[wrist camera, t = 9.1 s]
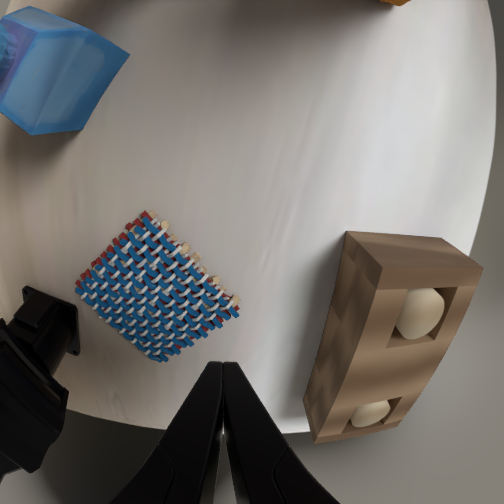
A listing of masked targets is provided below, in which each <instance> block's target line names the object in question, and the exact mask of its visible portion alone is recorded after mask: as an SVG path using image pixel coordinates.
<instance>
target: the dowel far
mask: <svg viewBox="0 0 504 504" xmlns="http://www.w3.org/2000/svg"><path fill="white" fill-rule="evenodd" d="M389 410H390V405H389V403H388V401H387V400H385V401H380V402H375V403H370V404H365V405H359V406H357V407H356V409H355V410H354V412H353V414H352V416H351V417H350V419H351V422H352V425H353V426H355V427H365V426H369V425H371V424H374V423H376V422H378V421H379V420H381V419H382V418H383V417H385V416H386V415H387V414H388V412H389Z"/></svg>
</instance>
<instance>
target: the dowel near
mask: <svg viewBox="0 0 504 504" xmlns="http://www.w3.org/2000/svg"><path fill="white" fill-rule="evenodd" d="M443 311H444V300H443V298H442V297H441V296H440V295H439V294H438V293H437V292H436V291H435V290H434V289H433V288H420V289H408V292H407V295H406V298H405V301H404V303H403V306H402V309H401V311H400V314H399V317H398V319H397V322H396V324H395V326H396V327H397V329H398V330H399V331H400V333H401V334H402V336H403V337H404V338H406V339H417V338H420V337H422V336H424V335H426V334H427V333H428V332H430V331H431V330H432V329H433V328H434V327H435V326H436V324H437V323H438V322H439V320H440V318H441V316H442V314H443Z"/></svg>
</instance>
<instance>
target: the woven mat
mask: <svg viewBox="0 0 504 504" xmlns="http://www.w3.org/2000/svg"><path fill="white" fill-rule="evenodd" d="M141 215H142V216H143V218H142V219H141V220H139V219H138V218H137V219H136V220H135V221H134V223H135V225H133V224H131V223H128V224H127V225H126V228H127V229H129V231H128V233H127V234H125V233H124V232H122V233H121V234H120V235H119V236H120V238H121V240H120V241H119V240H118V239H117V238H116V237H115V238H114V239H113V241H114V243H115V246H114V247H112V246H111V245H109V246H108V247H107V250H108V251H109V252H108V253H106V252H105V251H104V252H103V253H102V254H101V256H102V257H103V258H102V259H100V258H99V257H98V258H97V259H96V260H95V261H93V262H92V263H91V265H92V266H93V268H92V270H91V271H90V270H89V269H87V270H86V271H85V272H84V273H85V274H86V275H85V274H84V273H82V274H81V275H80V276H81V277H82V281H80V280H77V281H76V282H75V284H76V285H78V286H79V287H80V288H79V287H77V288H76V289H75V292H77V293H78V294H80V295H82V296H81V297H80V298H81V300H82V299H85V302H86V303H87V304H88V305H91V306H94V307H92V310H95V309H96V310H97V312H98V314H99V318H100V319H101V318H102V317H103V318H106V319H107V320H105V322H106V323H108V322H109V324H110V325H111V326H112V327H113V328H116V329H120V331H118V333H119V334H123V336H124V338H125V339H127V340H132V341H130V342H131V344H133V343H134V344H135V345H136V347H137V348H138V349H139V350H142V351H145V352H143V353H144V354H145V355H148V357H149V358H150V359H152V360H156V361H158V362H162V361H165V362H167V361H168V358H167V357H166V356H165V355H164V354H170V355H171V356H172V355H174V353H176V354H177V355H178V354H180V353H181V352H180V350H179V349H180V348H182V347H183V348H185V347H186V346H187V345H189V346H190V347H191V346H193V345H194V343H193V342H192V341H191V340H192V339H193V338H196V339H197V340H198V339H199V338H200V337H201V336H203V337H204V338H206V337H207V336H208V334H207V333H206V331H208V330H209V329H210V330H211V331H212V330H213V329H215V326H217V327H218V328H219V329H220V328H221V327H223V325H222V322H223V319H222V318H224V319H225V320H229V319H230V318H231V314H232V316H233V317H235V318H237V317H238V316H239V314H238V313H237V312H236V311H237V310H239V307H238V306H237V304H238V303H239V301H240V298H239V297H238V296H236V295H234V296H233V297H232V298H231V297H230V296H227V295H225V294H224V293H223V292H224V291H225V290H226V288H225V287H224V286H223V285H222V286H221V287H220V286H219V285H218V284H219V282H220V280H221V279H220V278H219V277H218V276H211V277H210V278H208V276H209V275H208V274H207V273H206V272H207V269H206V268H205V267H199V268H198V266H199V264H198V263H196V262H197V261H198V260H200V259H201V257H200V256H199V255H198V254H197V253H194V254H193V255H192V256H191V257H189V256H188V254H187V252H188V251H189V250H190V249H191V248H190V245H189V244H187V243H184V244H183V245H182V246H180V244H179V243H178V241H177V239H178V238H177V237H176V236H175V235H174V234H172V235H171V236H168V235H167V233H166V232H165V231H166V230H167V228H168V227H169V225H170V224H169V223H168V222H167V221H163V222H160V223H159V222H157V223H156V221H157V218H155V217H156V216H157V215H156V214H155V212H154V211H153V210H151V211H150V212H149V213H147V212H146V211H144V212H143V213H142V214H141ZM137 238H138V240H137ZM158 238H159V240H160V242H161V243H160V242H159V241H158ZM152 248H153V249H152ZM169 251H172V253H170V252H169ZM119 259H120V260H119ZM195 263H196V264H195ZM169 265H170V266H169ZM125 267H127V268H128V269H127V268H125ZM187 269H188V270H187ZM99 276H100V277H99ZM182 279H183V280H182ZM154 283H155V284H154ZM216 285H218V286H216ZM103 290H105V291H106V292H105V291H103ZM140 294H141V295H140ZM92 299H95V301H93V300H92ZM216 299H217V300H218V301H217V300H216ZM113 300H115V302H113ZM227 310H229V312H230V313H231V314H230V313H229V312H228V311H227ZM118 314H120V315H118ZM176 315H177V316H176ZM153 317H155V318H153ZM221 317H222V318H221ZM127 322H129V323H128V324H126V323H127ZM155 328H156V329H155ZM208 328H209V329H208ZM132 334H134V336H131V335H132ZM189 337H190V339H191V340H190V339H189ZM167 339H168V340H167ZM141 344H142V345H141ZM177 348H178V349H177ZM163 353H164V354H163Z"/></svg>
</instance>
